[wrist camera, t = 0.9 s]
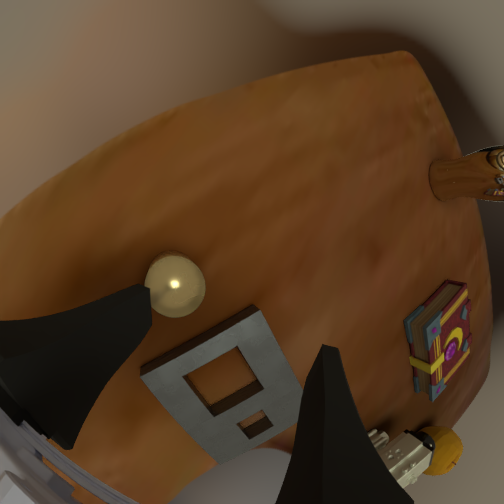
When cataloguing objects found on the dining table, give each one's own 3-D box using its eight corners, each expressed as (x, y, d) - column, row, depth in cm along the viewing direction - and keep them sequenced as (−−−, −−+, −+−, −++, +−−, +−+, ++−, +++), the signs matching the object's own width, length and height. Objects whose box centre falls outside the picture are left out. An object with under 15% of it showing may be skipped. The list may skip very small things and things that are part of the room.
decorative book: (445, 277, 36) (470, 281, 31) (452, 353, 39) (473, 361, 34) (401, 320, 33) (428, 330, 28) (413, 395, 36) (434, 407, 31)
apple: (393, 446, 36) (436, 478, 25) (429, 408, 38) (474, 433, 27) (402, 462, 38) (438, 489, 27) (434, 428, 40) (472, 451, 29)
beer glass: (441, 151, 34) (523, 136, 19) (455, 193, 35) (535, 189, 21) (421, 165, 32) (515, 149, 18) (436, 211, 33) (527, 210, 19)
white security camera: (393, 427, 35) (442, 461, 24) (334, 467, 32) (378, 514, 21) (393, 406, 34) (448, 441, 23) (329, 449, 31) (379, 500, 20)
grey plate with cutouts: (216, 453, 26) (220, 464, 24) (140, 366, 23) (139, 376, 21) (305, 402, 29) (314, 410, 27) (252, 304, 26) (260, 309, 24)
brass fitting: (163, 305, 23) (164, 327, 18) (140, 264, 23) (133, 275, 17) (203, 282, 24) (216, 298, 19) (181, 241, 24) (187, 245, 18)
